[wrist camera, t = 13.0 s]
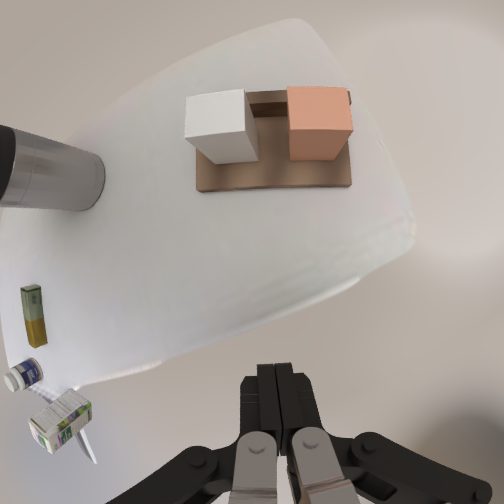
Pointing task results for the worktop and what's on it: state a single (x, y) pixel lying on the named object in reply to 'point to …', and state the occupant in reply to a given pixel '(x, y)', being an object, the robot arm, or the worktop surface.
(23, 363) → the pill bottle
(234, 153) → the grey rectangular block
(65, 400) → the syrup box
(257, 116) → the console
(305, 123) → the orange tall block
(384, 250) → the worktop surface
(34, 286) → the medication box
